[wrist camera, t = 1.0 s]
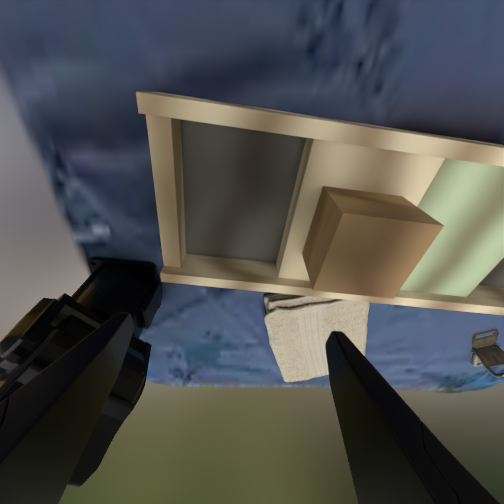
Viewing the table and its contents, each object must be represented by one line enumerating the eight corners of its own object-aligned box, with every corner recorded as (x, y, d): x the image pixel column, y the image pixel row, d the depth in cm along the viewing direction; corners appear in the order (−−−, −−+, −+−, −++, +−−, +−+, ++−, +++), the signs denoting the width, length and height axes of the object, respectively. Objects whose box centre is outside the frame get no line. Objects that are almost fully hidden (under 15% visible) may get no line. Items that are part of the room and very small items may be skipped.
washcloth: (362, 270, 25) (375, 290, 22) (361, 358, 35) (369, 379, 32) (256, 290, 27) (256, 311, 24) (284, 369, 36) (286, 389, 34)
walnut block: (301, 253, 20) (312, 290, 16) (322, 185, 16) (342, 213, 13) (368, 260, 20) (393, 298, 16) (402, 196, 17) (444, 225, 13)
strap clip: (491, 357, 34) (519, 387, 30) (468, 362, 35) (492, 392, 31) (495, 324, 30) (527, 355, 26) (468, 331, 30) (496, 362, 27)
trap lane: (172, 258, 23) (161, 281, 20) (157, 91, 15) (135, 91, 12) (529, 295, 26) (563, 320, 23) (674, 171, 18) (754, 186, 15)
